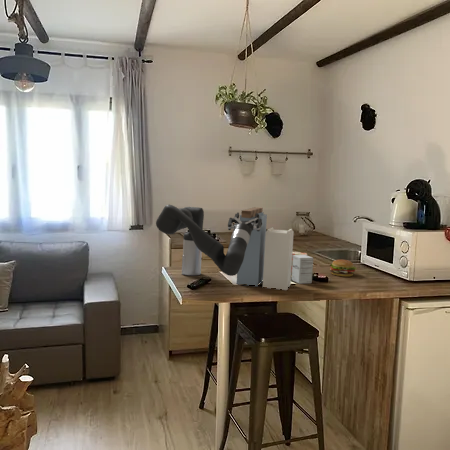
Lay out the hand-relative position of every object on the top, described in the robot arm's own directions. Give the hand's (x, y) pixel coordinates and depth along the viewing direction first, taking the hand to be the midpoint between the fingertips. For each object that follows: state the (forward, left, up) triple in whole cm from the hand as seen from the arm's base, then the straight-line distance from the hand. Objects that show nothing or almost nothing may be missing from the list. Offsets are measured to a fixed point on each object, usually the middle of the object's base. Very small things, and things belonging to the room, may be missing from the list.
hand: (247, 214), depth 210 cm
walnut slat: (+2, +8, -1) cm, 8 cm away
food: (+53, +40, -33) cm, 75 cm away
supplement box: (+28, +18, -33) cm, 47 cm away
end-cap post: (+15, +7, -33) cm, 37 cm away
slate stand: (+3, +12, -33) cm, 35 cm away
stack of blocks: (+21, +30, -33) cm, 50 cm away
